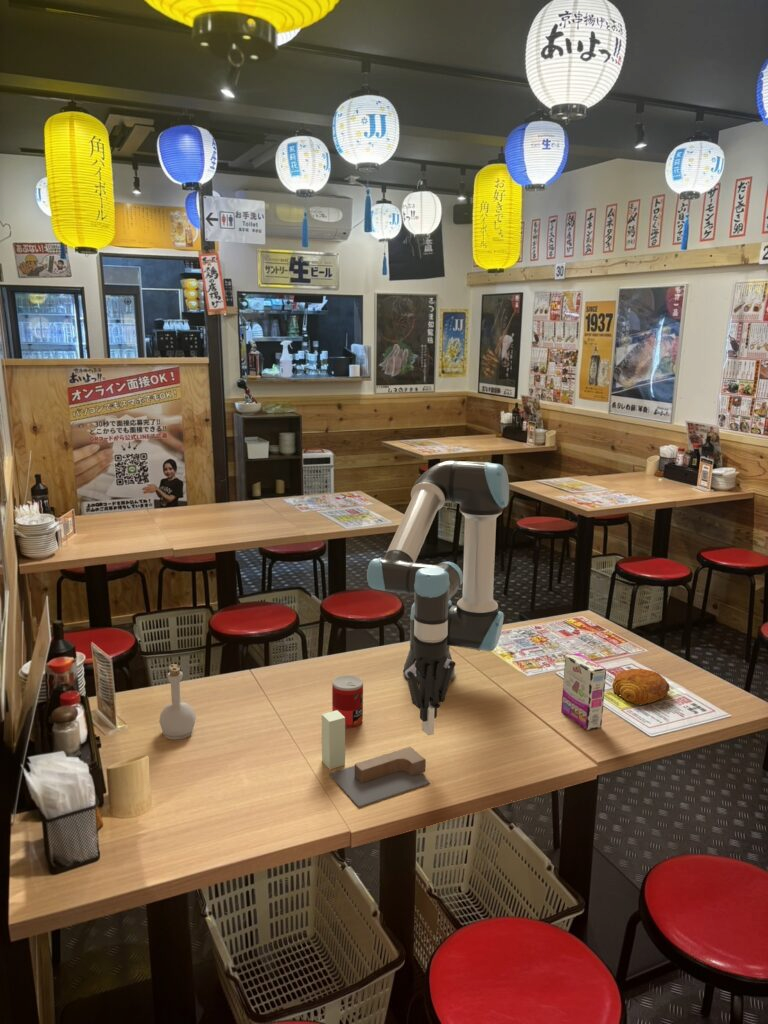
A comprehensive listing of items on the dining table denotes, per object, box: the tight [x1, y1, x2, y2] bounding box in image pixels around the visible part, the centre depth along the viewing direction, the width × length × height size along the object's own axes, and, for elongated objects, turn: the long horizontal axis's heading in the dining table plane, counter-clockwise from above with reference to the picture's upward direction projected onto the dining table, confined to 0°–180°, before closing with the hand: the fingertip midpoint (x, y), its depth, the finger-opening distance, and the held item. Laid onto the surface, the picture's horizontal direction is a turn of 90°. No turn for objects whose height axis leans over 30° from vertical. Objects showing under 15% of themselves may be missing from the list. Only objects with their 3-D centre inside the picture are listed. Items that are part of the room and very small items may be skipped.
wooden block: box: [354, 746, 427, 783], centre depth 165 cm, size 7×3×15 cm
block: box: [321, 710, 346, 770], centre depth 169 cm, size 4×4×12 cm
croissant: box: [612, 668, 670, 705], centre depth 207 cm, size 14×16×8 cm
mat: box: [328, 765, 431, 809], centre depth 164 cm, size 18×14×1 cm
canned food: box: [331, 675, 364, 729], centre depth 189 cm, size 8×8×11 cm
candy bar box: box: [560, 652, 607, 731], centre depth 190 cm, size 11×5×16 cm, turn 23°
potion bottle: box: [158, 663, 197, 741], centre depth 181 cm, size 9×9×18 cm
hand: (427, 731), depth 169 cm, fingers closed
